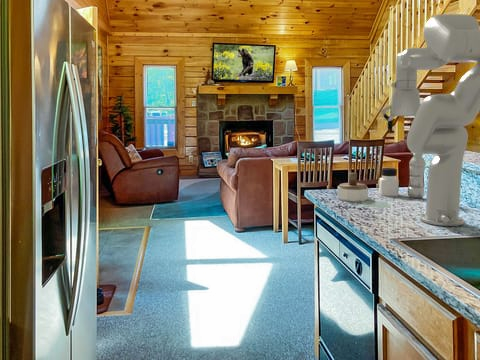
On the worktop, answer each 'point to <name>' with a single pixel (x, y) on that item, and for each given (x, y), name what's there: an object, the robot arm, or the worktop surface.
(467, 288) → the worktop surface
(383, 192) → the medicine bottle
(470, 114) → the robot arm
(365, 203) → the mat
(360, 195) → the bowl
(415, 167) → the plastic bottle
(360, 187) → the lid
